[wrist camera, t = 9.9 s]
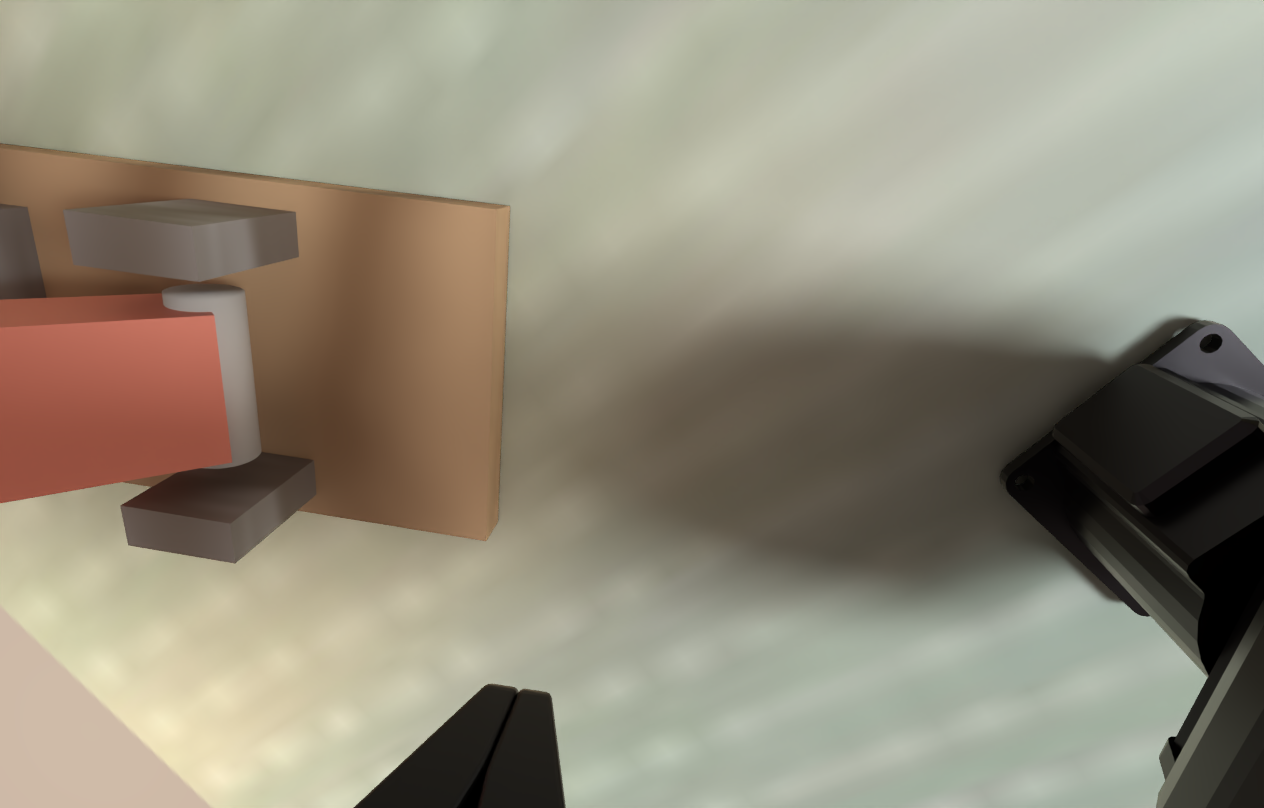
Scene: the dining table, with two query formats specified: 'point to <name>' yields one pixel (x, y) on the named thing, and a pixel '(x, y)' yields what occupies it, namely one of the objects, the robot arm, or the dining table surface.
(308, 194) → the base
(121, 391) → the lever
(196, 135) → the dining table surface
